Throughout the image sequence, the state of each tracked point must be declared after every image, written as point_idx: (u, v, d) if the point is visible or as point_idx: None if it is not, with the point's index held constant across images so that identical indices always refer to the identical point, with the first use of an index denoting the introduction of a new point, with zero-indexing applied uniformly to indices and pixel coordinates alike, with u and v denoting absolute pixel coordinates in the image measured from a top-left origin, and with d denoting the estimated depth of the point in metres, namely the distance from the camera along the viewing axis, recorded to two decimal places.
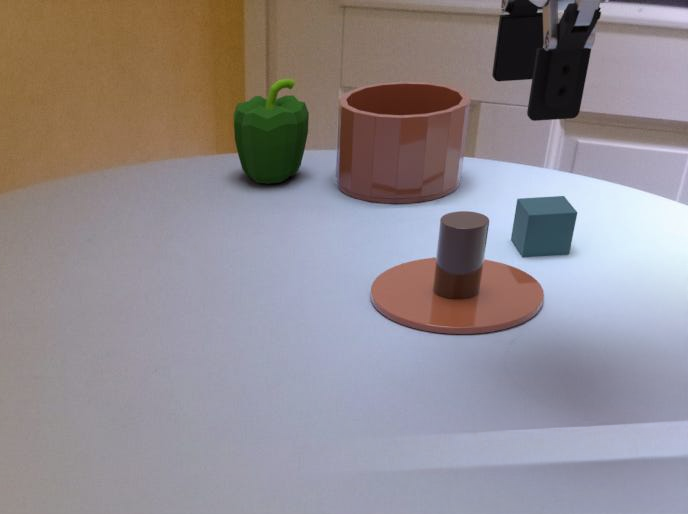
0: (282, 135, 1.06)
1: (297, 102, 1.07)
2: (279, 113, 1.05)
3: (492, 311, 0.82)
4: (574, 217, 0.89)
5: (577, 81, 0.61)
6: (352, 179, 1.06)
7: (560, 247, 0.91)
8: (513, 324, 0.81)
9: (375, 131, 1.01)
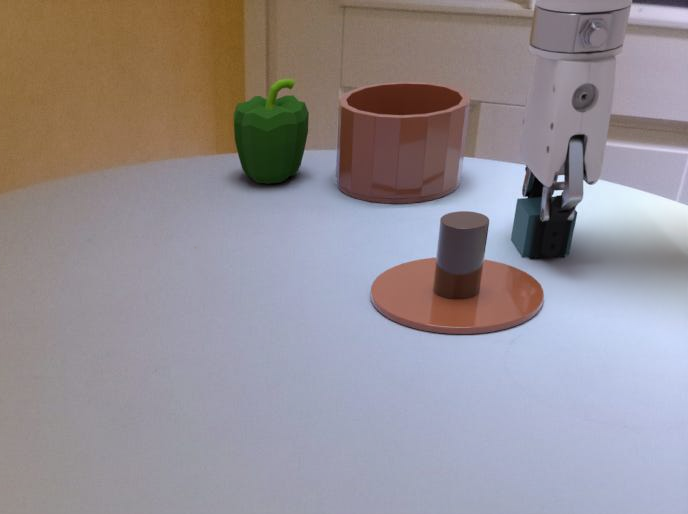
0: (282, 135, 1.06)
1: (297, 102, 1.07)
2: (279, 113, 1.05)
3: (492, 311, 0.82)
4: (574, 217, 0.89)
5: (563, 239, 0.90)
6: (352, 179, 1.06)
7: None
8: (513, 324, 0.81)
9: (375, 131, 1.01)
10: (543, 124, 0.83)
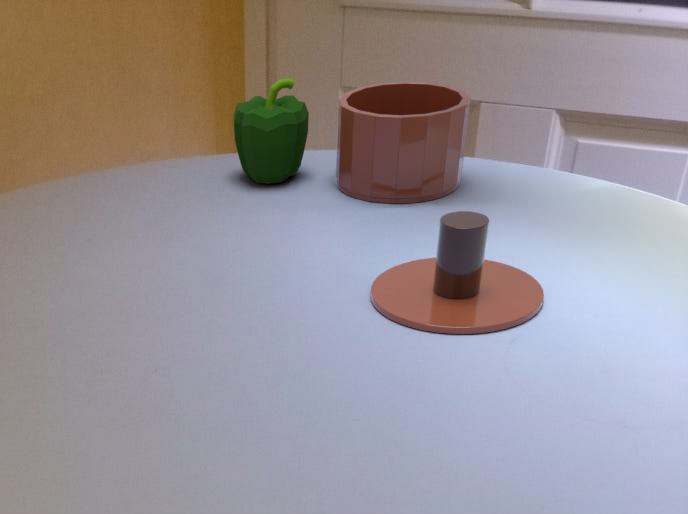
0: (282, 135, 1.06)
1: (297, 102, 1.07)
2: (279, 113, 1.05)
3: (492, 311, 0.82)
4: None
5: None
6: (352, 179, 1.06)
7: None
8: (513, 324, 0.81)
9: (375, 131, 1.01)
10: None
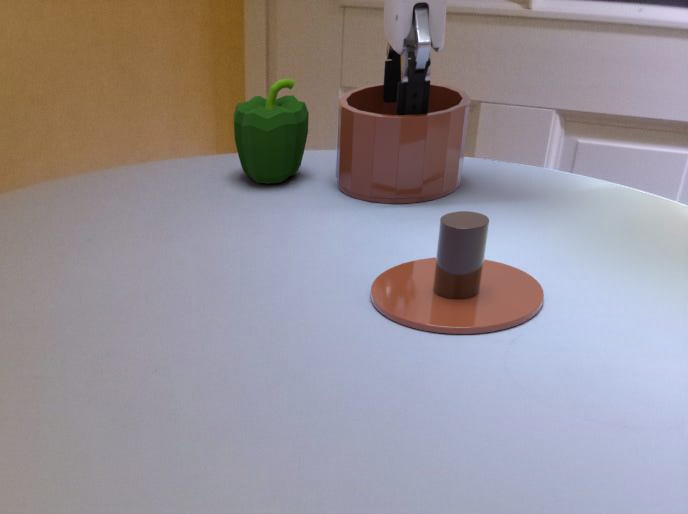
0: (282, 135, 1.06)
1: (297, 102, 1.07)
2: (279, 113, 1.05)
3: (492, 311, 0.82)
4: None
5: (423, 101, 1.00)
6: (352, 179, 1.06)
7: None
8: (513, 324, 0.81)
9: (375, 131, 1.01)
10: None
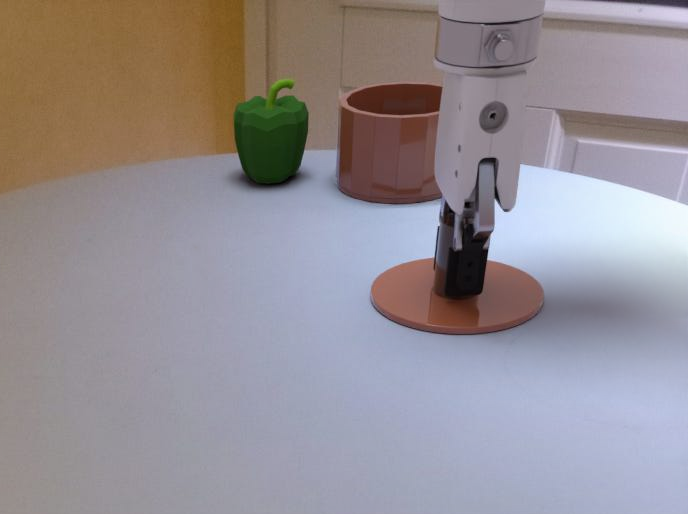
0: (282, 135, 1.06)
1: (297, 102, 1.07)
2: (279, 113, 1.05)
3: (492, 311, 0.82)
4: None
5: (479, 270, 0.81)
6: (352, 179, 1.06)
7: None
8: (513, 324, 0.81)
9: (375, 131, 1.01)
10: (451, 146, 0.75)
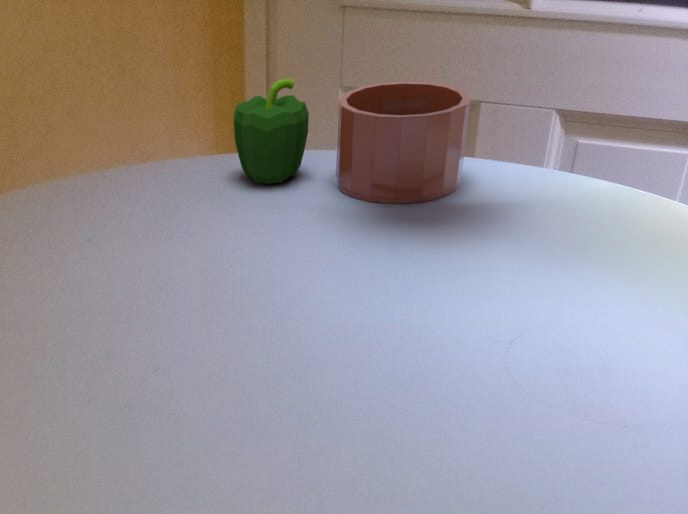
0: (282, 135, 1.06)
1: (297, 102, 1.07)
2: (279, 113, 1.05)
3: None
4: None
5: None
6: (352, 179, 1.06)
7: None
8: None
9: (375, 131, 1.01)
10: None
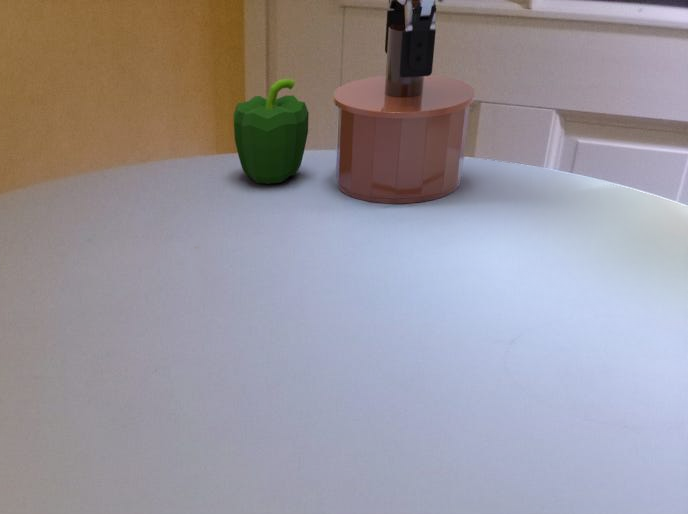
0: (282, 135, 1.06)
1: (297, 102, 1.07)
2: (279, 113, 1.05)
3: (431, 103, 1.00)
4: None
5: (428, 52, 0.96)
6: (352, 179, 1.06)
7: None
8: (448, 111, 0.99)
9: (375, 131, 1.01)
10: None
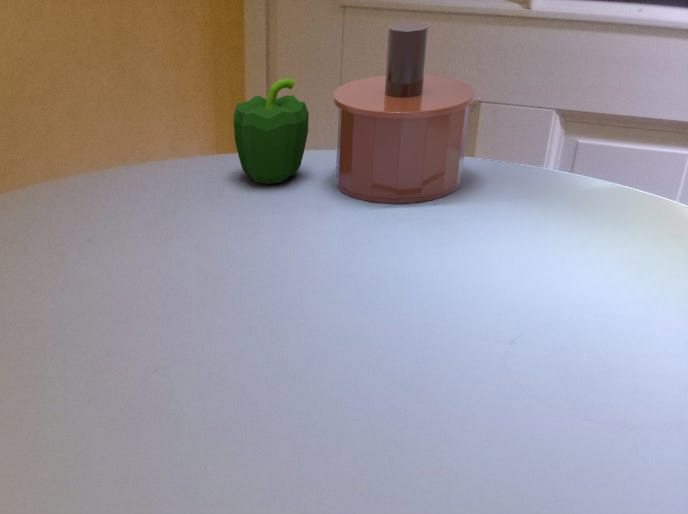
0: (282, 135, 1.06)
1: (297, 102, 1.07)
2: (279, 113, 1.05)
3: (431, 103, 1.00)
4: None
5: None
6: (352, 179, 1.06)
7: None
8: (448, 111, 0.99)
9: (375, 131, 1.01)
10: None
